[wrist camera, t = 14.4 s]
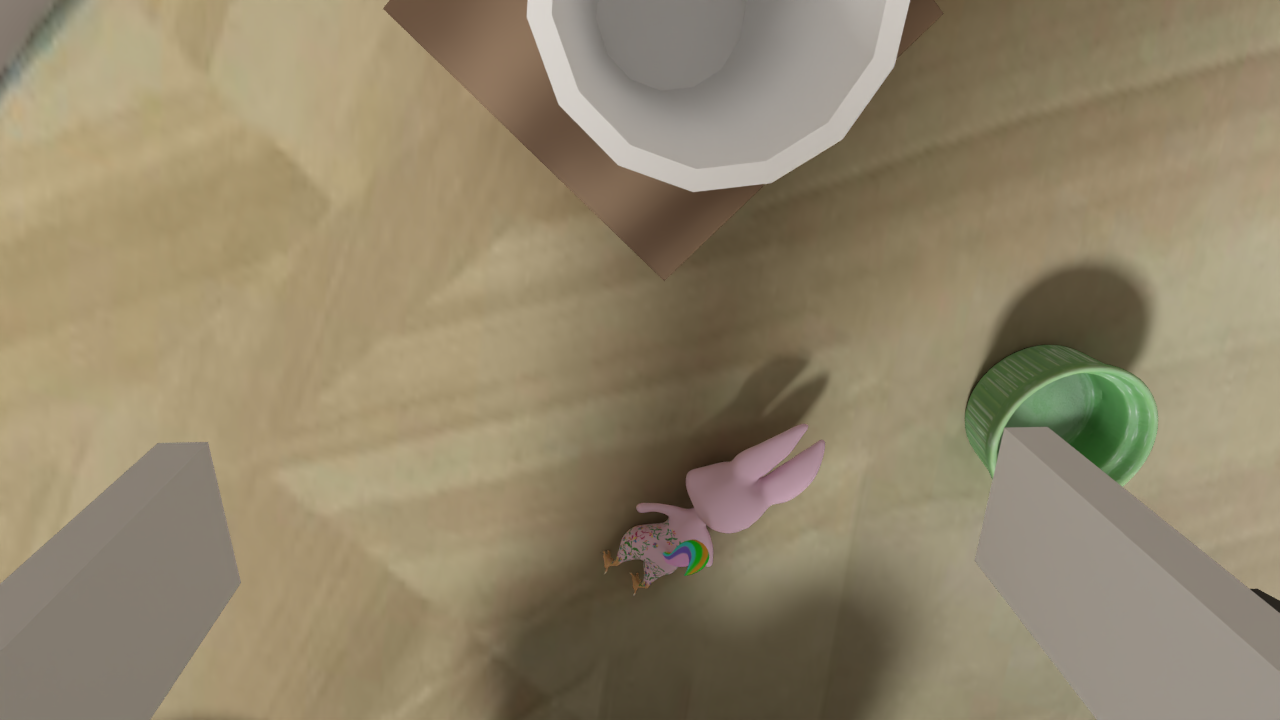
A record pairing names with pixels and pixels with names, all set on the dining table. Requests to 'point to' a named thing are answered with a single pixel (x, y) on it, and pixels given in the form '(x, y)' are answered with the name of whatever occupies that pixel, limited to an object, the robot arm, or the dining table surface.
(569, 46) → the foam cup
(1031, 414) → the ramekin
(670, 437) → the dining table surface
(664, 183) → the walnut base
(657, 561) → the rabbit figure
